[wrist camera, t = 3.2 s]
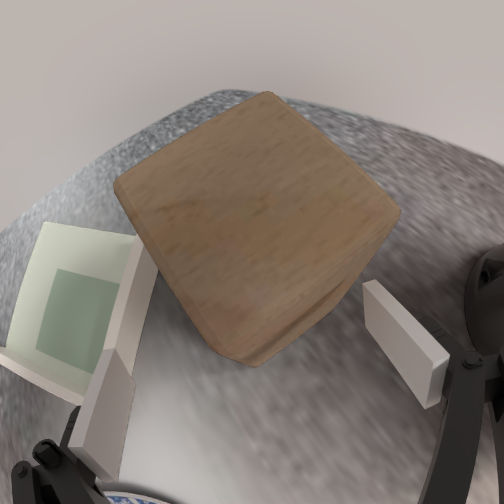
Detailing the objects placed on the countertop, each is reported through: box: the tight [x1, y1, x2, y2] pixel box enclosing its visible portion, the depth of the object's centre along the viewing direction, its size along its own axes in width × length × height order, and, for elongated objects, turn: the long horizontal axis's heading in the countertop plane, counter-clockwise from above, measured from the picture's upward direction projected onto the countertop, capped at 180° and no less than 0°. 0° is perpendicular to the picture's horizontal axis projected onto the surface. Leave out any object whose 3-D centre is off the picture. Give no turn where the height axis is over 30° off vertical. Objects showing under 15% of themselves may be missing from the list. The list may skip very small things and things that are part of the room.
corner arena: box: [0, 221, 159, 406], centre depth 31 cm, size 19×19×5 cm
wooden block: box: [113, 91, 401, 368], centre depth 23 cm, size 10×10×20 cm
